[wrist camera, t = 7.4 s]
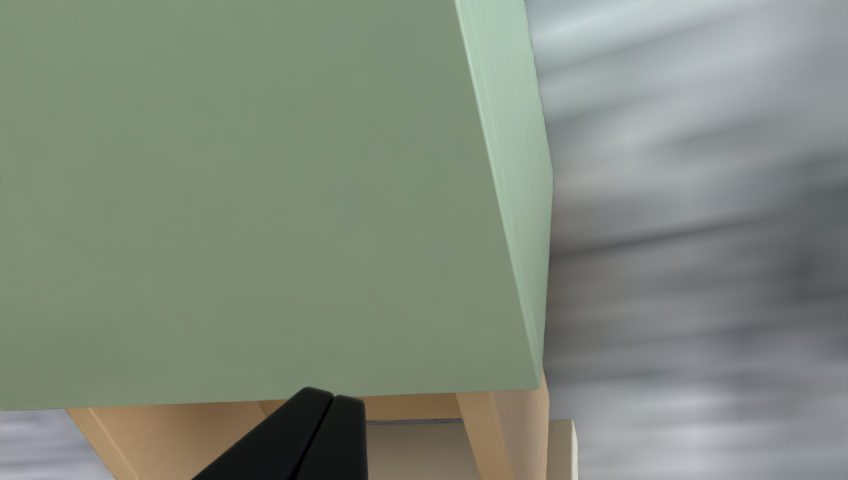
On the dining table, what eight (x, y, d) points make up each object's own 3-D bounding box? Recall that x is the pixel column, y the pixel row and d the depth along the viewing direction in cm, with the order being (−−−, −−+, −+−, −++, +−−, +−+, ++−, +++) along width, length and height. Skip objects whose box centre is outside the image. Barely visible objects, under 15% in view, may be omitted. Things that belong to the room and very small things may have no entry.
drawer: (596, 539, 25) (602, 740, 19) (316, 531, 29) (253, 699, 23) (512, 91, 16) (479, 223, 11) (123, 161, 20) (-53, 287, 14)
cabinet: (554, 178, 18) (541, 390, 11) (164, 231, 22) (-25, 412, 15) (441, -507, 12) (236, -1029, 5) (-88, -256, 15) (-630, -332, 8)
